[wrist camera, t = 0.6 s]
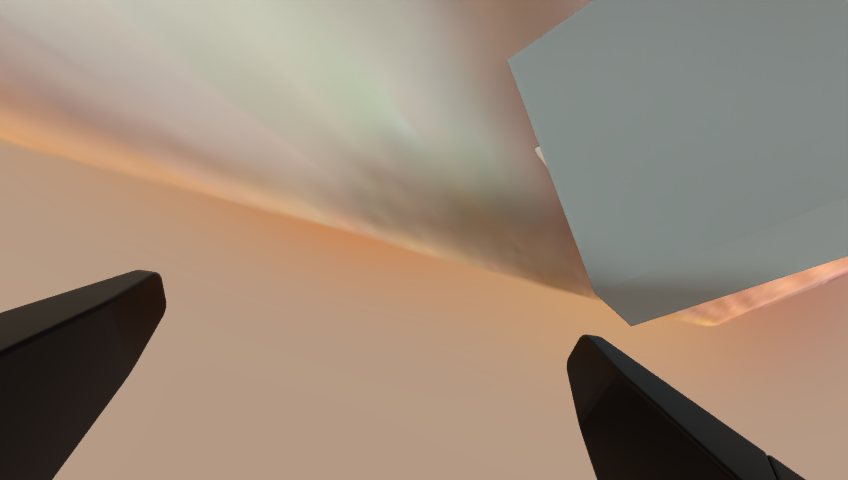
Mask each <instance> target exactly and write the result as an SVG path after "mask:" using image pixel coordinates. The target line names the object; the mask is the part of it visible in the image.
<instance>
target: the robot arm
mask: <svg viewBox="0 0 848 480" xmlns="http://www.w3.org/2000/svg"><path fill="white" fill-rule="evenodd" d="M165 309H166V299H165V293H164V288H163V283H162V278H161V276H160V274H158V273H157V272H152V271H144V270H135V271H132V272H129V273H125V274H122V275H119V276H116V277H113V278H110V279H106V280H104V281H101V282H97V283H94V284H91V285H88V286H84V287H81V288H78V289H75V290H72V291H68V292H65V293H62V294H59V295H56V296H53V297H49V298H46V299H43V300H40V301H37V302H34V303H30V304H27V305H24V306H21V307H18V308H14V309H11V310H8V311H5V312H2V313H0V480H52V479H53V478H54V476H55V475H56V474H57V472H58V471H59V470H60V468H61V467H62V465H63V464H64V463H65V462H66V460H67V459H68V458H69V456H70V455H71V453H72V452H73V451H74V449H75V448H76V447H77V445H78V443H80V441H81V440H82V438H83V437H84V436H85V434H86V433H87V432H88V430H89V429H90V428H91V426H92V425H93V423H94V422H95V421H96V419H97V418H98V417H99V415H100V414H101V413H102V411H103V410H104V409H105V407H106V406H107V405H108V403H109V402H110V400H111V399H112V398H113V396H114V395H115V394H116V392H117V391H118V389H119V388H120V387H121V386H122V384H123V383H124V381H125V380H126V378H127V377H128V376H129V374H130V373H131V371H132V369H133V368H134V366H135V364H136V362H137V361H138V359H139V358H140V356H141V354H142V352H143V350H144V349H145V347H146V345H147V343H148V342H149V340H150V338H151V336H152V335H153V333H154V331H155V329H156V328H157V326H158V324H159V322H160V321H161V319H162V317H163V315H164V313H165ZM567 372H568V377H569V382H570V386H571V391H572V395H573V400H574V404H575V409H576V414H577V418H578V422H579V426H580V430H581V433H582V436H583V439H584V442H585V445H586V448H587V451H588V454H589V457H590V460H591V463H592V466H593V469H594V472H595V475H596V477H597V480H805V479H804V478H802V477H801V476H799V475H798V474H797V473H795V472H794V471H792V470H791V469H789V468H788V467H786V466H785V465H784V464H782V463H781V462H779V461H778V460H776V459H775V458H773V457H772V456H770V455H766V453H765V452H764V451H763V450H761V449H760V448H758V447H757V446H755V445H754V444H752V443H751V442H750V441H748V440H747V439H745V438H744V437H743V436H741V435H740V434H738V433H737V432H735V431H734V430H733V429H731V428H729V427H728V426H727V425H725V424H724V423H723V422H721V421H720V420H718V419H717V418H716V417H714V416H713V415H711V414H710V413H708V412H707V411H706V410H704V409H703V408H701V407H700V406H698V405H697V404H696V403H694V402H693V401H691V400H690V399H689V398H687V397H686V396H684V395H683V394H681V393H680V392H678V391H677V390H676V389H674V388H673V387H671V386H670V385H669V384H667V383H666V382H664V381H663V380H661V379H660V378H659V377H657V376H656V375H654V374H653V373H651V372H650V371H648V370H647V369H646V368H644V367H643V366H642V365H640V364H639V363H637V362H635V361H634V360H633V359H632V358H630V357H629V356H627V355H626V354H625V353H623V352H622V351H620V350H619V349H617V348H616V347H614V346H613V345H612V344H610V343H609V342H607V341H606V340H604V339H603V338H601V337H599V336H593V335H582V336H581V337H580V338H579V340H578V342H577V344H576V346H575V347H574V349H573V351H572V352H571V354H570V356H569V358H568V361H567Z"/></svg>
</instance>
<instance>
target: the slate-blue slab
mask: <svg viewBox="0 0 848 480" xmlns="http://www.w3.org/2000/svg"><path fill="white" fill-rule="evenodd" d="M507 61H508V63H509V66H510V69H511V71H512V74H513V77H514V79H515V82H516V85H517V87H518V90H519V93H520V95H521V98H522V101H523V103H524V106H525V109H526V111H527V114H528V117H529V119H530V122H531V125H532V127H533V130H534V133H535V135H536V138H537V141H538V143H539V146H540V149H541V151H542V154H543V157H544V159H545V162H546V165H547V168H548V170H549V173H550V176H551V178H552V181H553V184H554V186H555V189H556V192H557V194H558V197H559V200H560V202H561V205H562V208H563V210H564V213H565V216H566V218H567V221H568V224H569V226H570V229H571V232H572V234H573V237H574V240H575V242H576V245H577V248H578V250H579V253H580V256H581V258H582V261H583V264H584V266H585V269H586V272H587V274H588V277H589V280H590V283H591V285H592V288H593V291H594V293H595V294H596V295H597V296H599V297H600V298H601V299H602V300H603V301H604V302H605V303H606V304H607V305H608V306H609V307H611V308H612V309H613V310H614V311H615V312H616V313H617V314H618V315H619V316H621V317H622V318H623V319H624V320H625V321H626V322H627V323H628V324H629V325H630V326H634V325H637V324H640V323H643V322H646V321H649V320H652V319H655V318H658V317H662V316H665V315H668V314H671V313H674V312H677V311H680V310H683V309H686V308H689V307H692V306H695V305H698V304H702V303H705V302H708V301H711V300H714V299H717V298H720V297H723V296H726V295H729V294H732V293H735V292H738V291H742V290H745V289H748V288H751V287H754V286H757V285H760V284H763V283H766V282H769V281H772V280H775V279H778V278H782V277H785V276H788V275H791V274H794V273H797V272H800V271H803V270H806V269H809V268H812V267H815V266H819V265H822V264H825V263H828V262H831V261H834V260H837V259H840V258H843V257H846V256H848V0H593V1H591V2H590V3H588V4H587V5H586V6H584V7H583V8H581V9H580V10H578V11H577V12H575V13H574V14H573V15H571V16H570V17H568V18H567V19H565V20H564V21H563V22H561V23H560V24H558V25H557V26H555V27H554V28H553V29H551V30H550V31H548V32H547V33H545V34H544V35H543V36H541V37H540V38H538V39H537V40H535V41H534V42H533V43H531V44H530V45H528V46H527V47H525V48H524V49H522V50H521V51H520V52H518V53H517V54H515V55H514V56H512V57H511V58H510V59H508V60H507Z"/></svg>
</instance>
